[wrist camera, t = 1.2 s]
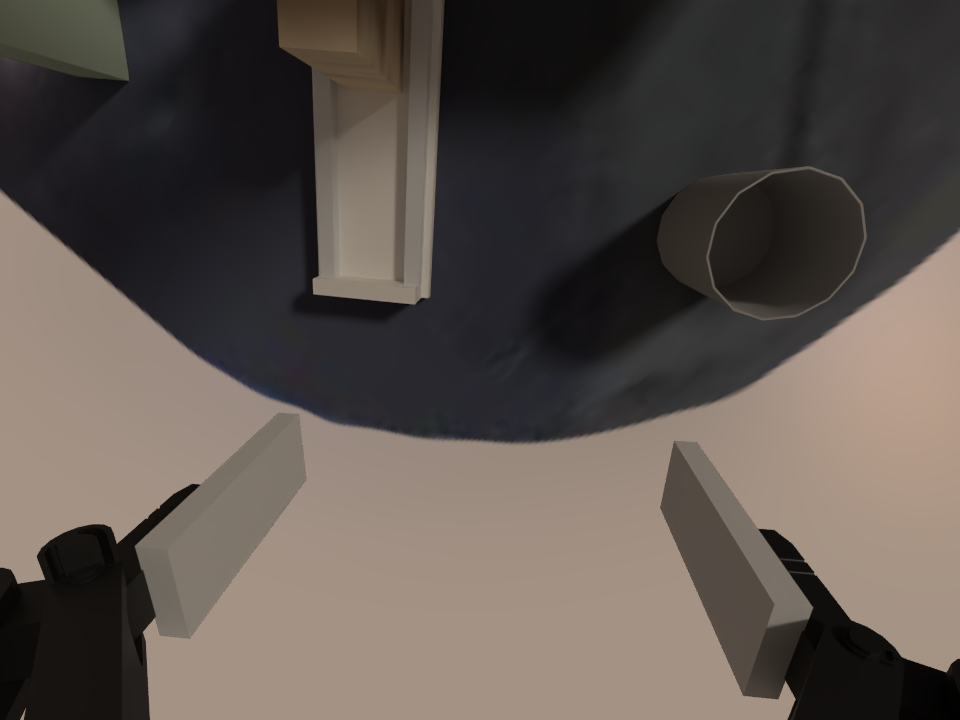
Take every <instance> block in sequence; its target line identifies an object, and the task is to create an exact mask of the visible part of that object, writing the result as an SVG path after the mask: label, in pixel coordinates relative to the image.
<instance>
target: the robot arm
mask: <svg viewBox="0 0 960 720" xmlns="http://www.w3.org/2000/svg"><path fill="white" fill-rule="evenodd" d="M305 481H306V472H305V463H304V454H303V445H302V437H301V427H300V418H299V414H287V413H278V414H277V415H276V416H274V417H273V418H272V419H271V420H270V421H269V422H268V423H267V424H266V425H265V426H264V427H263V428H262V429H260V430H259V431H258V432H257V433H256V434H255V435H254V436H253V437H252V438H251V439H250V440H249V441H247V442H246V443H245V444H244V445H243V446H242V447H241V448H240V449H239V450H238V451H237V452H236V453H235V454H233V455H232V456H231V457H230V458H229V459H228V460H227V461H226V462H225V463H224V464H223V465H222V466H221V467H219V468H218V469H217V470H216V471H215V472H214V473H213V474H212V475H211V476H210V477H209V478H208V479H207V480H205V482H203V483H202V484H201V485H199V484H191V485H190V486H188V487H186V488H184V489H182V490H180V491H178V492H177V493H175V494H173V495H172V496H171V497H170V498H169V499H168V500H166V501H165V502H164V503H163V504H162V505H161V506H160V508H159V509H156V510H155V511H154V512H153V513H152V514H150V515H149V517H148V519H145V520H144V521H142V522H141V523H140V524H139V525H138V526H137V527H136V528H135V529H134V530H132V531H131V532H130V533H129V534H128V535H127V536H126V537H124V538H123V539H122V540H121V541H120V542H119V543H118V544H117V543H116V540H115V537H114V533H113V531H112V529H111V527H108V526H106V525H100V524H92V525H87V526H83V527H78V528H75V529H73V530H70V531H67V532H65V533H63V534H61V535H59V536H57V537H55V538H54V539H52V540H50V541H49V542H48V543H47V544H46V545H45V546H44V547H42V548H41V550H40V551H39V553H38V555H37V559H38V561H39V564H40V567H41V569H42V572H43V574H44V577H45V580H40V581H34V582H27V583H20V584H17V581H16V579H15V576H14V574H13V573H12V571H11V570H9V569H5V568H0V720H20V719H21V717H22V715H23V712H24V710H25V708H26V711H25V716H24V720H150V716H149V696H148V677H147V658H146V641H145V638H144V634H143V631H144V630H145V629H146V628H147V626H148V625H149V624H150V623H151V622H152V620H153V619H154V618H155V620H156V623H157V627H158V631H159V634H160V636H169V637H179V638H189V639H190V638H191V636H192V635H193V633H194V632H195V631H196V629H197V628H198V626H199V625H200V624H201V622H202V621H203V620H204V618H205V617H206V616H207V614H208V613H209V611H210V610H211V609H212V607H213V606H214V605H215V603H216V602H217V601H218V599H219V598H220V597H221V595H222V594H223V592H224V591H225V590H226V588H227V587H228V586H229V584H230V583H231V582H232V580H233V579H234V578H235V576H236V575H237V573H238V572H239V571H240V569H241V568H242V567H243V565H244V564H245V563H246V561H247V560H248V558H249V557H250V556H251V554H252V553H253V552H254V550H255V549H256V548H257V546H258V545H259V543H260V542H261V541H262V539H263V538H264V537H265V535H266V534H267V533H268V531H269V530H270V528H271V527H272V526H273V524H274V523H275V522H276V520H277V519H278V518H279V516H280V515H281V513H282V512H283V511H284V509H285V508H286V507H287V505H288V504H289V503H290V501H291V500H292V498H293V497H294V496H295V494H296V493H297V491H298V490H299V489H300V488H301V486H302V485H303V483H304V482H305ZM660 508H661V510H662V513H663V515H664V517H665V520H666V522H667V524H668V526H669V529H670V531H671V533H672V535H673V538H674V540H675V542H676V544H677V547H678V549H679V551H680V553H681V556H682V558H683V560H684V562H685V565H686V567H687V569H688V572H689V574H690V576H691V578H692V580H693V583H694V585H695V588H696V590H697V592H698V594H699V597H700V599H701V601H702V603H703V606H704V608H705V610H706V612H707V615H708V617H709V619H710V621H711V623H712V626H713V628H714V631H715V633H716V635H717V637H718V639H719V642H720V644H721V646H722V649H723V651H724V653H725V655H726V658H727V660H728V662H729V664H730V667H731V669H732V671H733V673H734V676H735V678H736V680H737V683H738V685H739V687H740V689H741V692H742V694H743V696H752V697H761V698H771V699H779V696H780V693H781V691H782V688H783V685H784V683H785V680H786V682H787V684H788V686H789V688H790V690H791V691H792V693H793V695H794V697H795V699H796V700H795V702H794V705H793V707H792V710H791V713H790V715H789V717H788V720H960V659H957V660H956V661H954V662H953V663H952V664H951V665H950V667H949V669H948V671H947V673H946V672H943V671H940V670H937V669H934V668H931V667H928V666H925V665H922V664H919V663H916V662H913V661H910V660H907V659H905V658H902V657H901V656H900V654H899V653H898V652H897V650H896V649H895V648H894V647H893V646H892V645H891V644H890V643H889V642H888V641H887V640H886V639H885V638H883V636H881V635H879V634H878V633H876V632H875V631H873V630H871V629H870V628H868V627H866V626H864V625H861V624H859V623H856V622H854V621H851V620H850V618H849V617H848V616H847V614H846V613H845V612H844V610H843V609H842V608H841V607H840V605H839V604H838V603H837V601H836V600H835V599H834V597H833V596H832V595H831V594H830V592H829V591H828V590H827V588H826V587H825V586H824V584H823V583H822V582H821V581H820V579H819V578H818V577H817V576H815V575H814V571H813V570H812V569H811V568H810V566H809V565H808V564H807V563H805V562H804V558H803V557H802V556H801V555H800V553H799V552H798V551H797V549H796V548H795V547H794V545H793V544H792V543H790V542H789V541H788V540H787V539H785V538H784V537H783V536H781V535H780V534H779V533H777V532H776V531H775V530H766V529H758V528H757V527H756V526H755V524H754V523H753V521H752V520H751V519H750V517H749V516H748V514H747V513H746V511H745V510H744V508H743V507H742V506H741V504H740V503H739V502H738V500H737V498H736V497H735V496H734V494H733V493H732V492H731V490H730V488H729V487H728V486H727V484H726V483H725V481H724V480H723V478H722V477H721V476H720V474H719V473H718V471H717V470H716V469H715V467H714V466H713V464H712V463H711V461H710V460H709V458H708V457H707V456H706V454H705V453H704V451H703V450H702V449H701V447H700V446H699V444H698V443H697V442H683V441H674V444H673V449H672V454H671V459H670V463H669V468H668V474H667V478H666V483H665V488H664V492H663V497H662V502H661V507H660Z"/></svg>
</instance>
